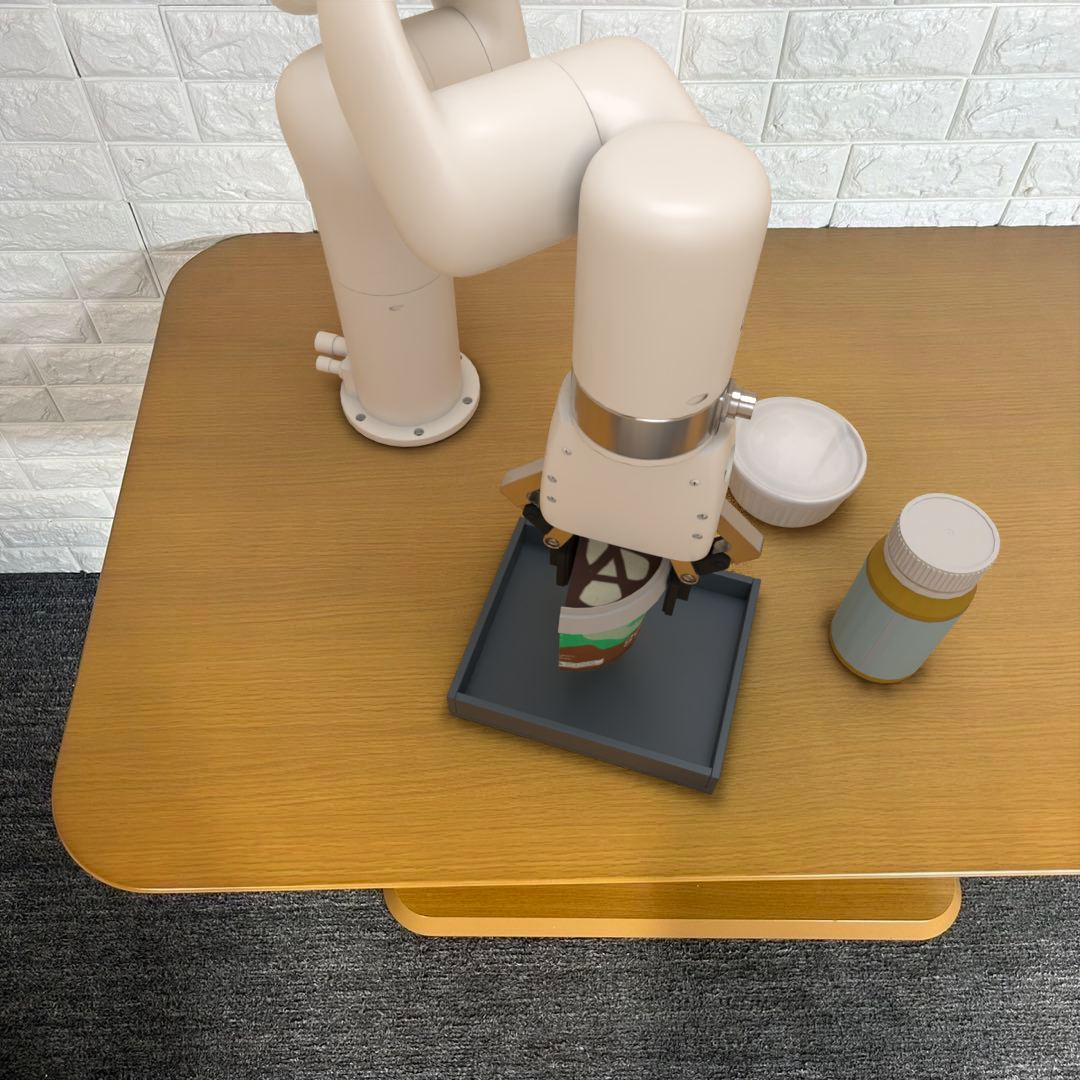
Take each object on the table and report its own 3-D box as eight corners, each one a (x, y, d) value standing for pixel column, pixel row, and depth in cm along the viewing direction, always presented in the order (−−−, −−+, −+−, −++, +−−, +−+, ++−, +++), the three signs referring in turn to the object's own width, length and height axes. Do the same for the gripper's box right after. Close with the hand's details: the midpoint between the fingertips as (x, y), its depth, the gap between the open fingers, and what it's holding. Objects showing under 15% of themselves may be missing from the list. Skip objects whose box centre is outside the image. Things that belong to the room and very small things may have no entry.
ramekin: (860, 541, 73) (880, 503, 69) (723, 539, 73) (735, 501, 69) (836, 437, 80) (854, 396, 75) (710, 435, 80) (720, 394, 75)
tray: (449, 714, 65) (446, 696, 62) (520, 538, 73) (519, 515, 71) (711, 794, 62) (719, 779, 59) (753, 600, 70) (761, 579, 68)
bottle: (902, 703, 65) (989, 598, 53) (812, 657, 67) (875, 546, 55) (933, 632, 69) (1021, 517, 56) (846, 590, 71) (913, 471, 58)
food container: (646, 707, 59) (665, 635, 51) (554, 690, 60) (558, 615, 51) (668, 554, 66) (689, 468, 58) (585, 540, 66) (594, 453, 58)
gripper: (835, 375, 45) (760, 570, 59) (504, 303, 47) (512, 506, 62) (814, 490, 40) (739, 668, 55) (454, 403, 43) (475, 594, 58)
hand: (619, 581), depth 59 cm, fingers closed on food container, 6 cm apart
